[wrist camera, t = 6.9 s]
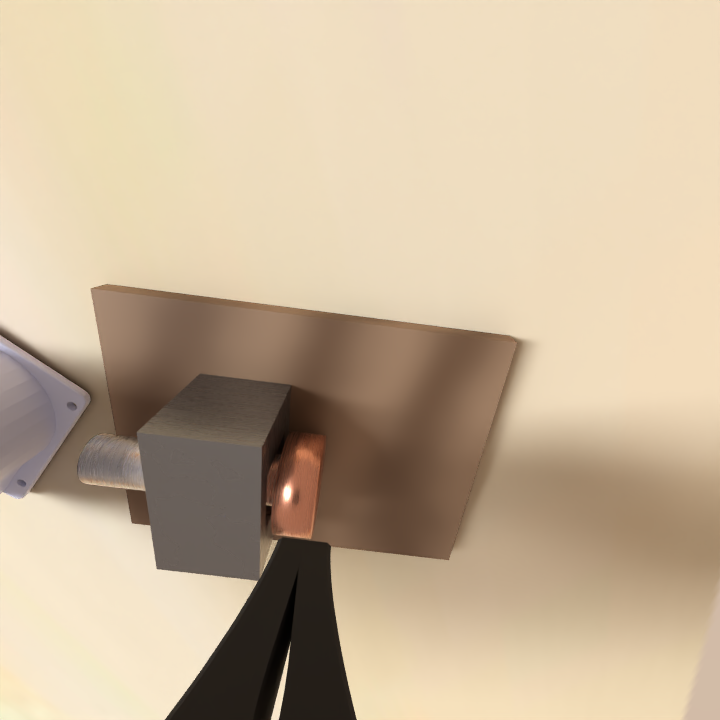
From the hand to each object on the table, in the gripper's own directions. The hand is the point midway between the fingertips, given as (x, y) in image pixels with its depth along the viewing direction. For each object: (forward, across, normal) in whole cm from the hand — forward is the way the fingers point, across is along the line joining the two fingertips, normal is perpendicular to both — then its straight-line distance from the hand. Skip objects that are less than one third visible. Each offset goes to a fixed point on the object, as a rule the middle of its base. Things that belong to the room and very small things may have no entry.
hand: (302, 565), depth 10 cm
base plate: (+9, +2, +2) cm, 10 cm away
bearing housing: (+9, +4, +2) cm, 11 cm away
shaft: (+8, +5, +3) cm, 10 cm away
